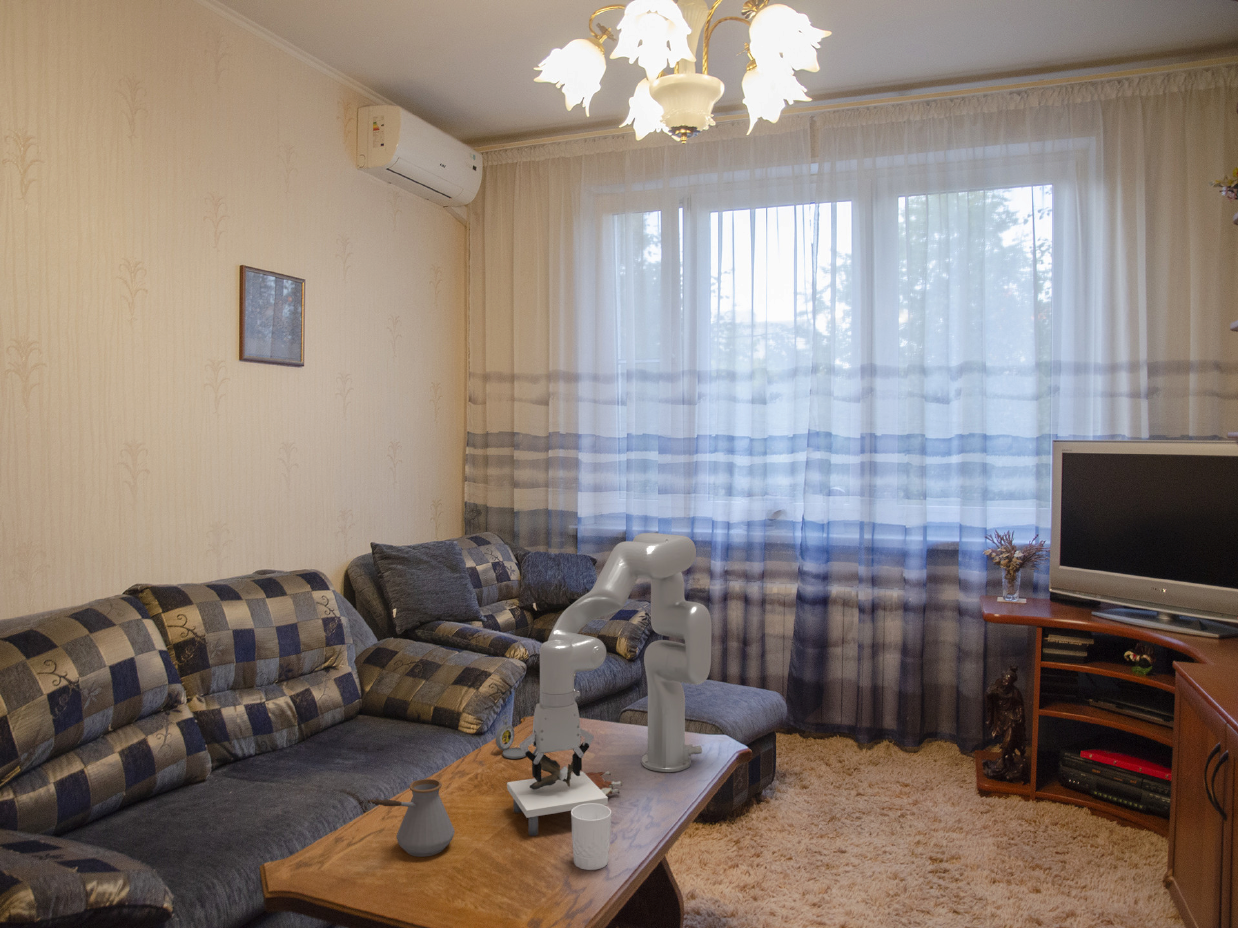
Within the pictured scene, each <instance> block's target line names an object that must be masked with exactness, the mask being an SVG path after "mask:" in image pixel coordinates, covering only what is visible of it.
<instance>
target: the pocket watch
mask: <svg viewBox="0 0 1238 928" xmlns="http://www.w3.org/2000/svg"><path fill="white" fill-rule="evenodd" d="M504 717H507V718H505V719H503V718H504ZM509 717H510V716H508V715H506V714H505V715H502V717H501V721H502V722H504V724H503V725H501V726H500V727H499V729H498V731H497V733H496V736H495V744H496V747H497V748H498V749H499V750H501V751H502V756H503V757H504V758H507V759H512V760H515V759H516V760H517V759H521V758H525V757H527V756H526V755H525V754H524V752H523V751H522V750H521V748H520V747H511V746H512V744H513V742H514V739H515V728H514V726H513V725H512V724H509V723H508V720H509Z"/></svg>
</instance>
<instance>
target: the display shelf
mask: <svg viewBox="0 0 1238 928" xmlns="http://www.w3.org/2000/svg"><path fill="white" fill-rule="evenodd" d="M543 777H544V776H541V778H543ZM565 779H567V775H566V777H565ZM534 782H537V780H536V779H535V778H534V777H533V778H529V779H521V780H515V781H508V782H506V789H507V791H508V793H509V794H510V795H511V797H512V799H513V813H515V812H516V813H515V814H521V813H523V814H524V816H525V817H526V819H527V818H528V835H529V836H531V837H534V836H537V835H539V816H545V815H551V814H558V813H564V812H569V811H570V812H571V810H572V809H573V808H574V807H576V806H578V805H582V804H588V803H595V804H601V805H605V806H608V805H609V797H608V795H607V796H606V795H605V794H604V793H603V792H602V791H601V790H600V789H599V788H598V787H597V786H596V785H595V784H594V783H593V782H592V780H591V779H590V778H589V777H588V776H587V775H586V773H585V772H584V771H582V770H581V771H580V776H576V775H575V774H574V773H573V772H571V779H570V787H569V786H568V785H567V783H566V782H564V781H561V780H557V781H556V783H555V784H553V785H551V786H548V785H547V786H543V787H540V788H539V789H535V790H533V789H532V788H530V785H532V784H533V783H534Z"/></svg>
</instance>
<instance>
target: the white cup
mask: <svg viewBox="0 0 1238 928" xmlns="http://www.w3.org/2000/svg"><path fill="white" fill-rule="evenodd" d="M570 818H571V819H570V820H571V822H570V823H571V839H572V840H571V841H572V851H573V863H574V865H575V867H577V868H579V869H581V870H586V871H596V870H600V869H603V868H605V867H606V866H607V865H608V863H609V852H610V851H609V850H610V842H611V828H612V827H611V826H612V825H611V824H612V809H611V808H610V807H609V806H608V805H601V804H595V803H588V804H582V805H578V806H576V807H574V808H573V809H572V810H571V811H570Z"/></svg>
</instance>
